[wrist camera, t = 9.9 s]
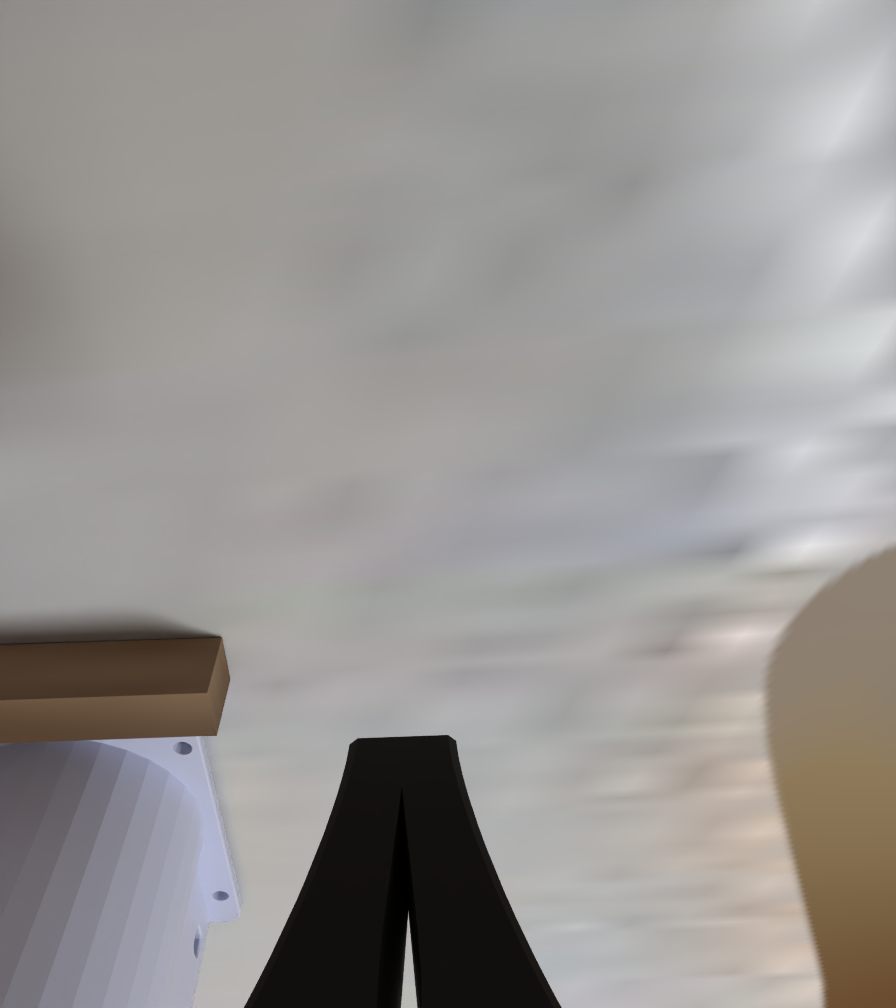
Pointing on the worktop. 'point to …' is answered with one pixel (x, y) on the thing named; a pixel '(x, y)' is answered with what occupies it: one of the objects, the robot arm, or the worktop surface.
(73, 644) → the wooden tray
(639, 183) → the worktop surface
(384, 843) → the robot arm
